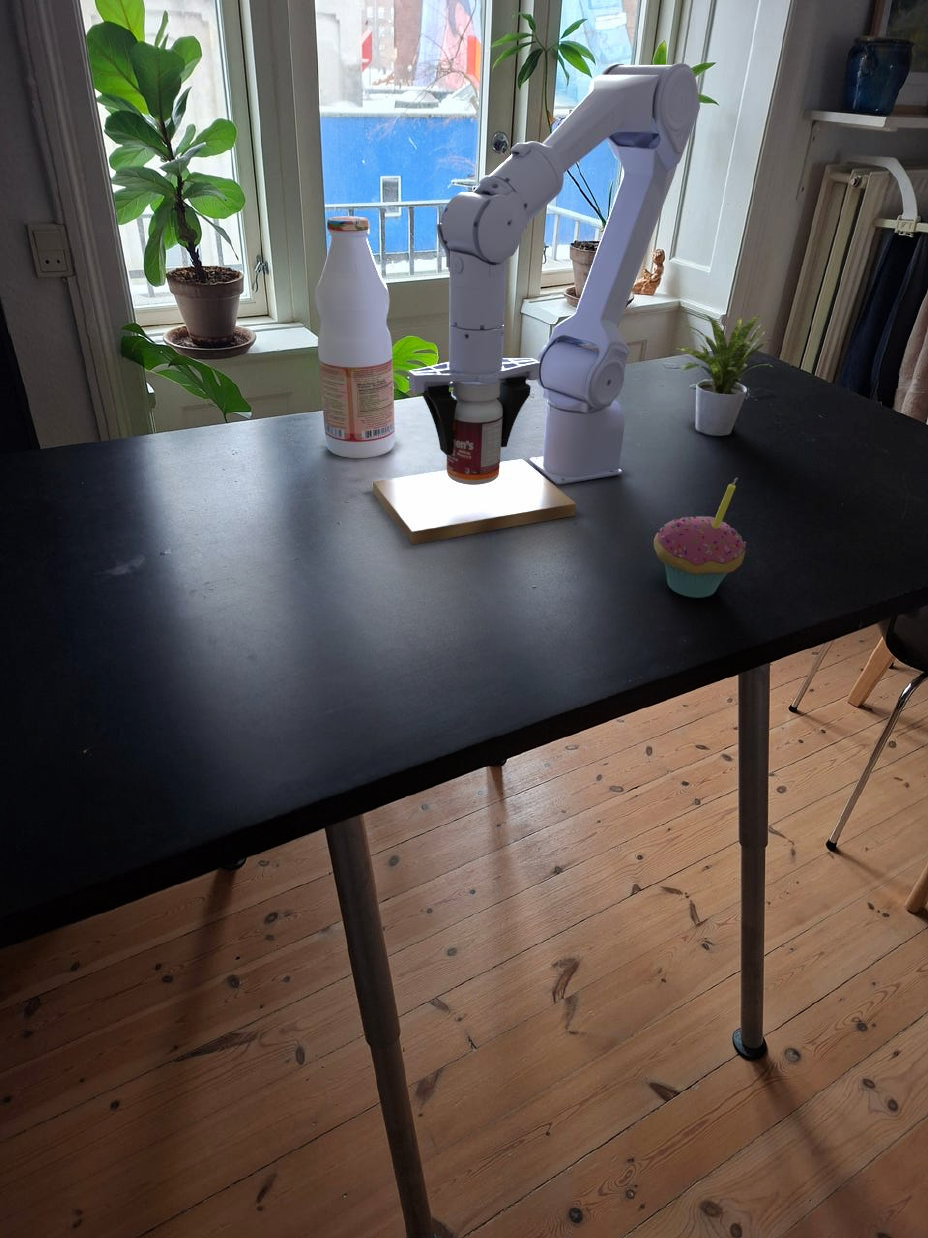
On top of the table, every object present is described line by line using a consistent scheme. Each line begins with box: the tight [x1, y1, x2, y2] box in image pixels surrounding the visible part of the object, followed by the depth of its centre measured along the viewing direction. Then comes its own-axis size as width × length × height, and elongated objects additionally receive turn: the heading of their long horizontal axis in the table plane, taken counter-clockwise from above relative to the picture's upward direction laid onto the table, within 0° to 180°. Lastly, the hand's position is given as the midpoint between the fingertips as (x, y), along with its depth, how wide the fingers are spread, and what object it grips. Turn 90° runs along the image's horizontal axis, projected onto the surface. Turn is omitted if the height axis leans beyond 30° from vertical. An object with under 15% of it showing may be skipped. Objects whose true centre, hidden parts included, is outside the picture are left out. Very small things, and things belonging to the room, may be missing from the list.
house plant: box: [674, 312, 775, 436], centre depth 114 cm, size 14×14×16 cm
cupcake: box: [653, 477, 747, 599], centre depth 77 cm, size 9×8×12 cm
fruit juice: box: [314, 215, 396, 459], centre depth 102 cm, size 9×9×28 cm
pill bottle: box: [445, 379, 503, 485], centre depth 90 cm, size 6×6×11 cm
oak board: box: [372, 458, 577, 546], centre depth 94 cm, size 20×14×2 cm
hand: (473, 447), depth 91 cm, fingers closed on pill bottle, 6 cm apart
